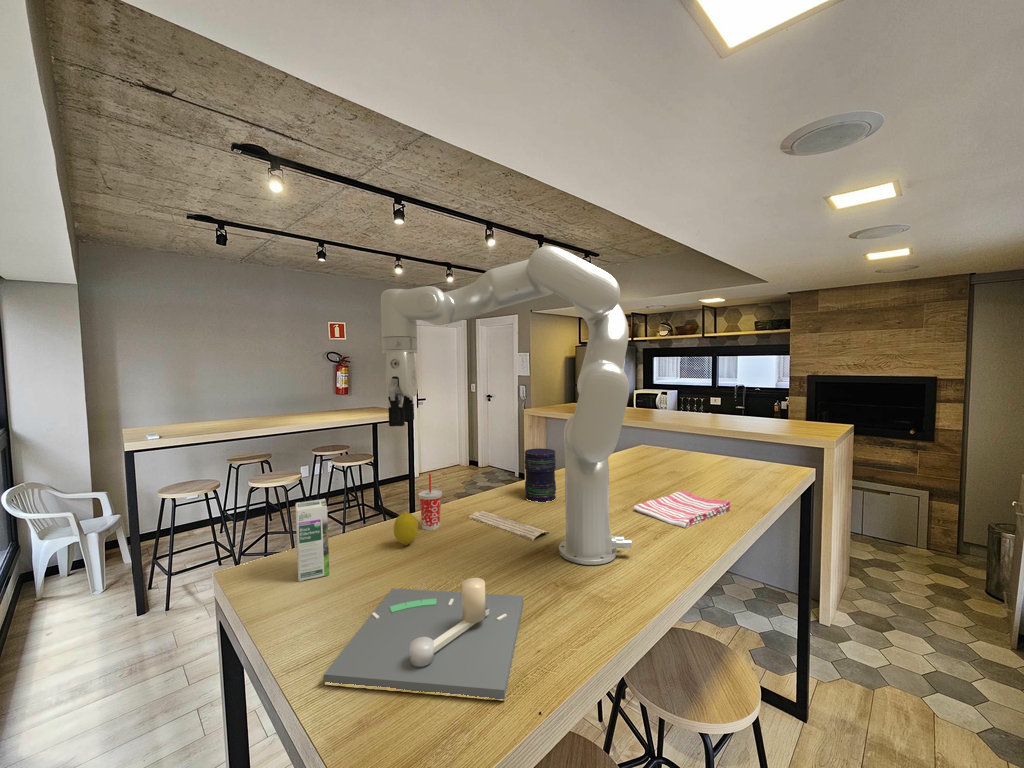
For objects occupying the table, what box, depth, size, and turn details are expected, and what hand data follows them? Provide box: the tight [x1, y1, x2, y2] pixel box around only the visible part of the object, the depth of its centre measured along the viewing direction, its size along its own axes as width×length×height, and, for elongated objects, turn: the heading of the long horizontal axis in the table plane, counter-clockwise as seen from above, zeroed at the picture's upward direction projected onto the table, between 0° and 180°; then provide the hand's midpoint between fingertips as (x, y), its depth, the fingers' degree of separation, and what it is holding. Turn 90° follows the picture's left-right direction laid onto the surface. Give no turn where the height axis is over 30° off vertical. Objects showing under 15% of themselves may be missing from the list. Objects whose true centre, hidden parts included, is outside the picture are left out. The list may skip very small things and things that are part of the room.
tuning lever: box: [410, 577, 489, 667], centre depth 63 cm, size 15×4×6 cm, turn 142°
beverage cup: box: [418, 473, 443, 531], centre depth 112 cm, size 6×6×14 cm
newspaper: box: [468, 510, 550, 542], centre depth 113 cm, size 24×7×2 cm, turn 47°
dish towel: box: [633, 490, 731, 529], centre depth 122 cm, size 17×23×4 cm
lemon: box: [393, 511, 419, 547], centre depth 100 cm, size 6×6×8 cm
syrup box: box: [294, 498, 330, 583], centre depth 87 cm, size 6×6×14 cm
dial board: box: [323, 588, 524, 700], centre depth 65 cm, size 24×22×2 cm
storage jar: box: [524, 448, 557, 502], centre depth 135 cm, size 10×10×15 cm
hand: (402, 423), depth 95 cm, fingers open, 9 cm apart
